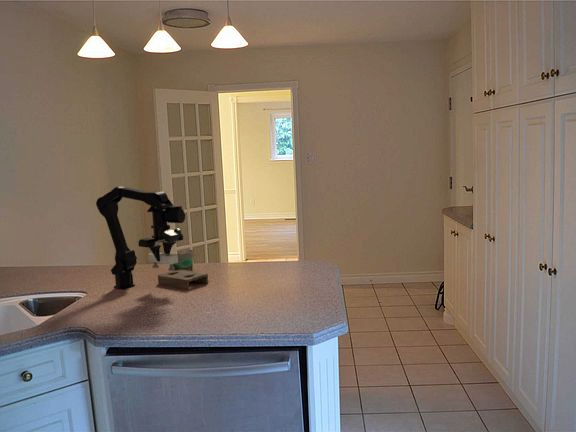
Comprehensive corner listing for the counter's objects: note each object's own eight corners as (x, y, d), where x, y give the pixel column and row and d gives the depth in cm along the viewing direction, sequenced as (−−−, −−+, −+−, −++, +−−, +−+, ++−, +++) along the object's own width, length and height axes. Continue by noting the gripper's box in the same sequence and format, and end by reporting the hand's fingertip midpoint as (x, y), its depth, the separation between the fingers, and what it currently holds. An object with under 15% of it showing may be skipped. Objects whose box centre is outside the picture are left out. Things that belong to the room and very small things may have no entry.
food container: (180, 277, 234) (179, 255, 233) (171, 275, 238) (170, 254, 236) (200, 271, 244) (199, 250, 242) (191, 269, 247) (190, 249, 246)
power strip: (170, 271, 208) (169, 255, 207) (148, 267, 217) (147, 252, 216) (178, 269, 211) (177, 253, 210) (156, 265, 220) (155, 250, 219)
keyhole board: (187, 289, 213) (186, 280, 213) (158, 284, 224) (157, 275, 223) (208, 282, 223) (207, 273, 222) (179, 277, 233) (178, 269, 233)
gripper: (154, 227, 199) (157, 267, 201) (190, 220, 214) (193, 257, 216) (136, 225, 206) (139, 264, 208) (173, 219, 221) (175, 255, 223)
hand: (162, 260), depth 213 cm, fingers closed on power strip, 4 cm apart
